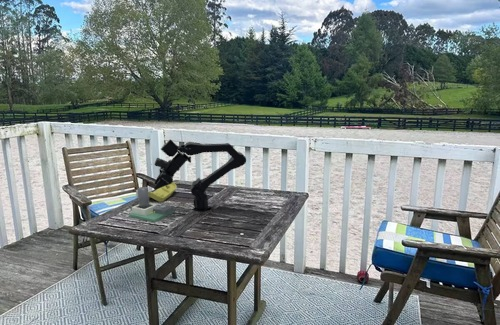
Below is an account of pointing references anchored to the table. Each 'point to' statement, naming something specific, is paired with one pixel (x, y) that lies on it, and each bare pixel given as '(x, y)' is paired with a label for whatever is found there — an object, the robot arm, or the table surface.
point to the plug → (143, 197)
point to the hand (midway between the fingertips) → (154, 186)
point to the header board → (152, 212)
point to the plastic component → (163, 192)
